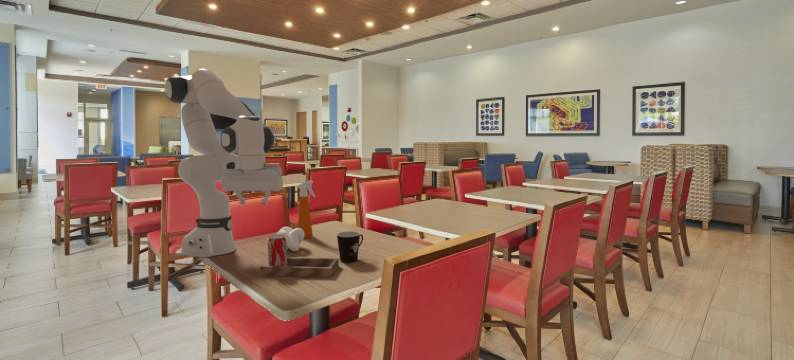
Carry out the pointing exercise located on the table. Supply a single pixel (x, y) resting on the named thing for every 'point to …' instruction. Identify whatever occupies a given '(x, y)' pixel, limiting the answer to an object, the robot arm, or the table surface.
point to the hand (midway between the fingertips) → (253, 203)
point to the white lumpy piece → (292, 237)
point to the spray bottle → (305, 209)
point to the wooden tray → (303, 267)
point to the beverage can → (277, 250)
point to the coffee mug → (349, 246)
